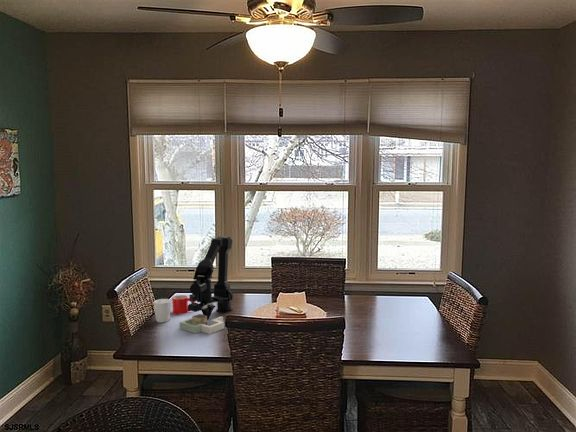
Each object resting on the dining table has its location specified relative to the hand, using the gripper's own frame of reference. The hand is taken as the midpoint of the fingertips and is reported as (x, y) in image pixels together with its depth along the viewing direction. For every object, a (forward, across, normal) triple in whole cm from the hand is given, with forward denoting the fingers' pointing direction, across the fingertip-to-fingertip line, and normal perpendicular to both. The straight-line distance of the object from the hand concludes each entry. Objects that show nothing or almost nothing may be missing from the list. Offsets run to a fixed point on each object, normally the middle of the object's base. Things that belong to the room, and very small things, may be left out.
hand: (207, 320), depth 242 cm
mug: (+2, -5, -24) cm, 25 cm away
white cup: (+2, +10, -22) cm, 24 cm away
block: (+2, +4, 0) cm, 5 cm away
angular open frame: (+2, +3, +3) cm, 5 cm away
